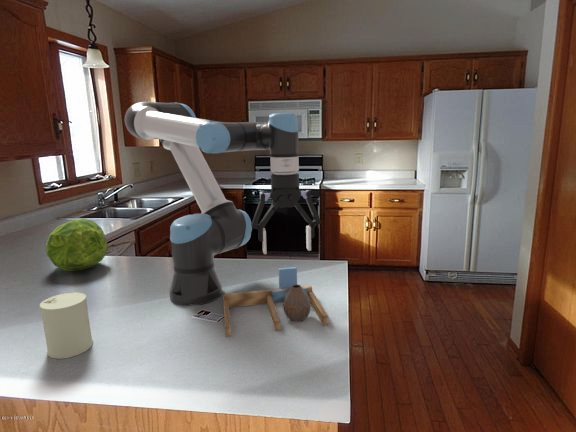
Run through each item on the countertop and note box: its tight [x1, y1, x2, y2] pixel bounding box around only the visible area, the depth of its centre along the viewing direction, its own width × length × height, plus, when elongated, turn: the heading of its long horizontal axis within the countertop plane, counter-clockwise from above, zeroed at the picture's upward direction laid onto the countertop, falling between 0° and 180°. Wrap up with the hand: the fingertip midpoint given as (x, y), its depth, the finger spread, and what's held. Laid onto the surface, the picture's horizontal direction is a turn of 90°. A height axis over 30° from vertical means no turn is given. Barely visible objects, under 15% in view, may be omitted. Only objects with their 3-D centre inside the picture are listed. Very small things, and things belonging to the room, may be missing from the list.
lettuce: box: [45, 218, 109, 272], centre depth 144 cm, size 19×23×18 cm
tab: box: [278, 266, 298, 289], centre depth 113 cm, size 5×1×6 cm, turn 100°
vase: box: [282, 283, 312, 323], centre depth 101 cm, size 7×7×9 cm
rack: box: [222, 285, 329, 337], centre depth 104 cm, size 25×17×4 cm
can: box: [39, 291, 94, 360], centre depth 90 cm, size 9×9×12 cm
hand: (286, 250), depth 111 cm, fingers open, 12 cm apart
